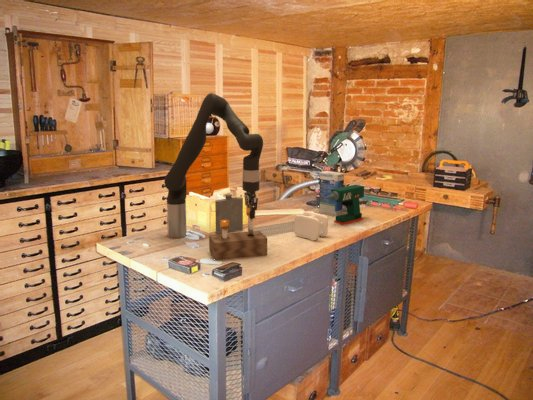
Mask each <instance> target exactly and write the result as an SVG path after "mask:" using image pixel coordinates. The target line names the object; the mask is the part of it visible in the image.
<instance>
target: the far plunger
mask: <svg viewBox="0 0 533 400" xmlns="http://www.w3.org/2000/svg"><path fill="white" fill-rule="evenodd" d="M245 208H246V216H247V215H248V216H247V221H248V222H247V232H248V237H251V236H253V228H254V219H250V207H245Z"/></svg>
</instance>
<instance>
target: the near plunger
mask: <svg viewBox="0 0 533 400" xmlns="http://www.w3.org/2000/svg"><path fill="white" fill-rule="evenodd" d="M220 228H222V239H228V233H229V232H228V228H229V220H226V219H224V220H220Z"/></svg>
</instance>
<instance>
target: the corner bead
mask: <svg viewBox="0 0 533 400" xmlns="http://www.w3.org/2000/svg"><path fill="white" fill-rule="evenodd" d="M294 225H295V220H293V221H288V222H287V221H286V222H279V223H274V224H268V225H261V226H256V227H254V226H253V231H260V232H261V233H262V234H264V235H265V236H266V237H269V236H271V237H272V236H274V235H275V236H276V235H281V234H287V233H293V232H294Z"/></svg>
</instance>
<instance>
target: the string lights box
mask: <svg viewBox="0 0 533 400" xmlns="http://www.w3.org/2000/svg"><path fill="white" fill-rule="evenodd" d="M344 184H345V172H337V171H330V170H325V171H320V172H319V187H318V188H319V190H318V191H319V193H318V194H319V195H318V214H322V215H326V216H332V217H335V218H336V216H338V215H342V214H343V207H344V206H343V205H342V202H340V203H339V202H335V201H331V200H330V199H326V198H325V197H327V196H329V194H330V193H331V189H335V188H340V187H345V186H344Z"/></svg>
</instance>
